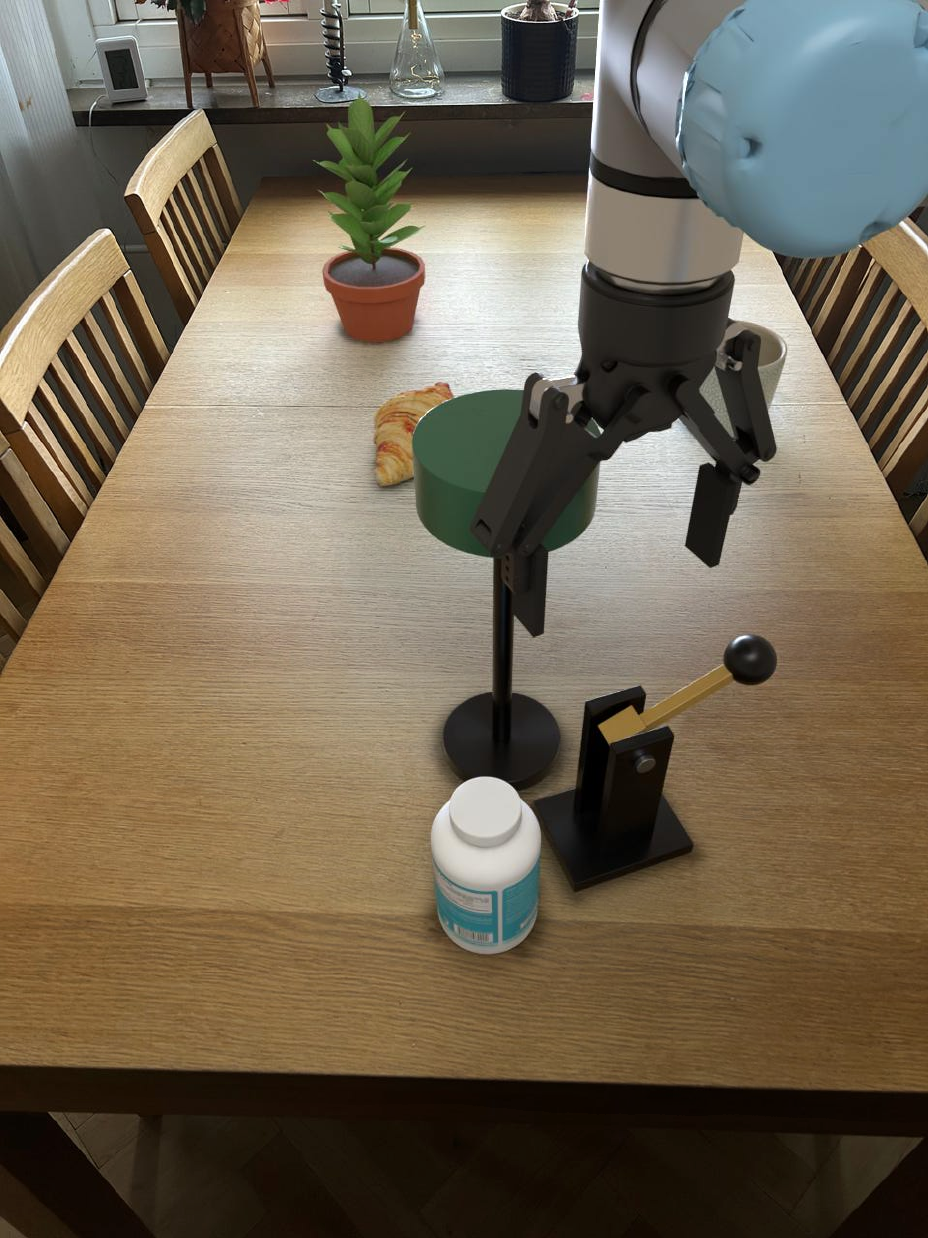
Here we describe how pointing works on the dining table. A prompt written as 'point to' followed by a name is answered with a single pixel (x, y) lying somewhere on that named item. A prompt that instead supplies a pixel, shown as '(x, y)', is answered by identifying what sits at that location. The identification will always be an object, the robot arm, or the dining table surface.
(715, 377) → the planter
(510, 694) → the desk lamp
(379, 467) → the croissant
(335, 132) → the potted plant
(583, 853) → the switch bracket
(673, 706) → the lamp switch
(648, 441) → the dining table surface
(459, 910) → the pill bottle
